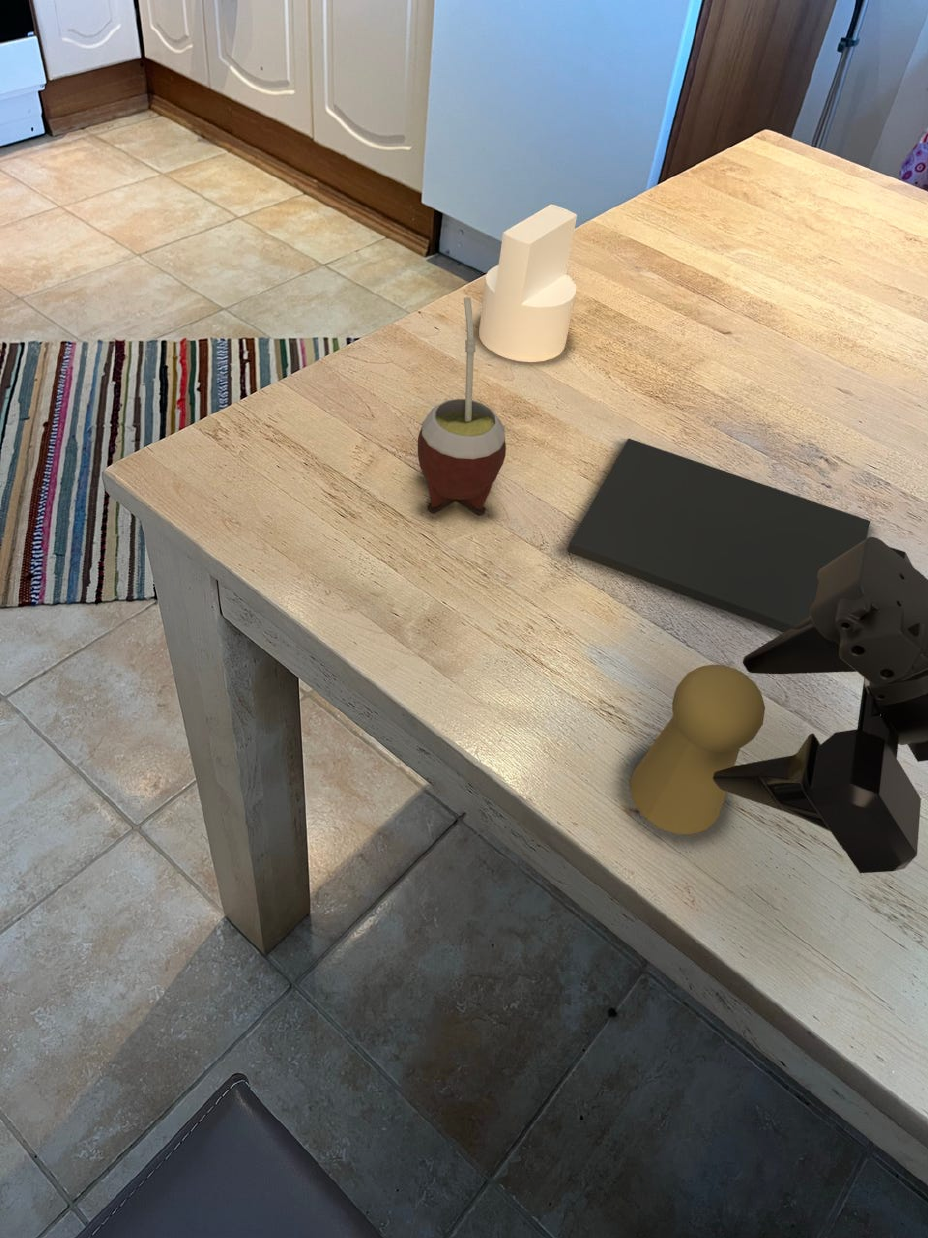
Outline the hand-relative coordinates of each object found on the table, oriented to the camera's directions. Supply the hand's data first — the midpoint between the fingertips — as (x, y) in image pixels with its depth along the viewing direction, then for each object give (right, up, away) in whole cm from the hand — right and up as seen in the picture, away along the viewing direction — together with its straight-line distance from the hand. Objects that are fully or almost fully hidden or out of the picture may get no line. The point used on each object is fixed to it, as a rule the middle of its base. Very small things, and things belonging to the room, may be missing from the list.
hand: (731, 720), depth 55 cm
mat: (+6, +12, +24) cm, 28 cm away
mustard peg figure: (-2, -6, +7) cm, 9 cm away
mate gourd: (-16, +16, +25) cm, 34 cm away
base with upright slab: (-10, +35, +42) cm, 56 cm away
